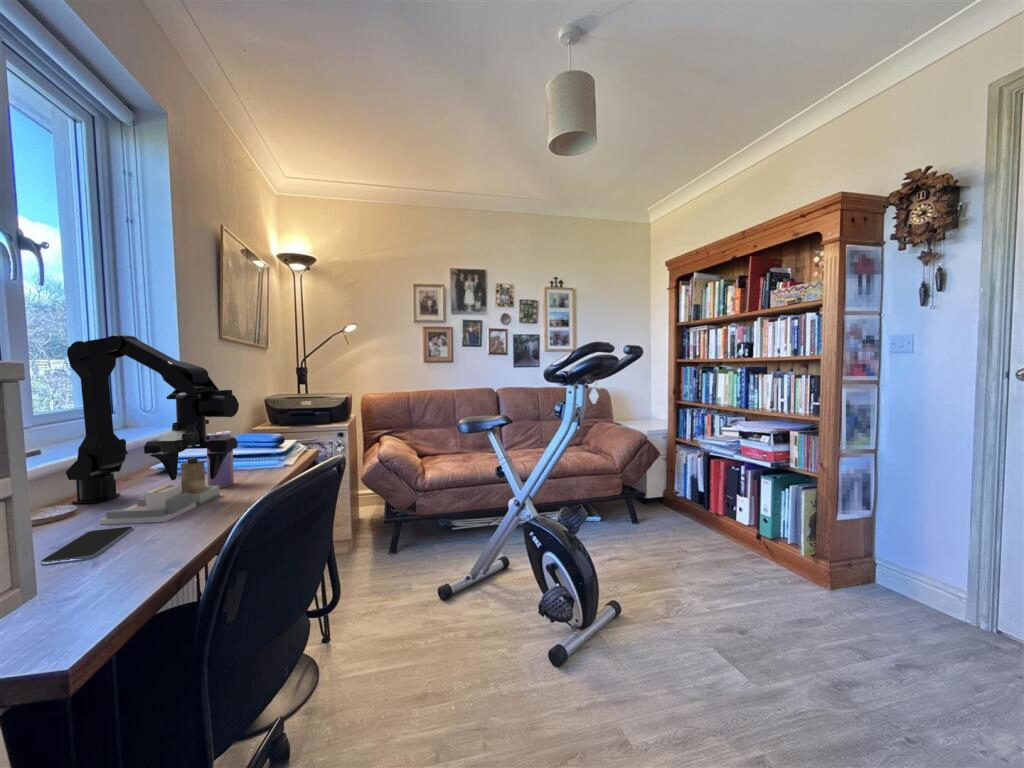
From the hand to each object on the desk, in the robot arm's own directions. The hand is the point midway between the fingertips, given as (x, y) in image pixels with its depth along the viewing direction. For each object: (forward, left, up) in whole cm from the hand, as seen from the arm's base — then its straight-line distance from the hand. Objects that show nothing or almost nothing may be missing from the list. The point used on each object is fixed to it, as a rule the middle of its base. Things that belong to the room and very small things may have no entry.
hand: (193, 479), depth 104 cm
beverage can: (-1, +13, -6) cm, 14 cm away
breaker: (0, -10, -4) cm, 11 cm away
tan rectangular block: (0, 0, -5) cm, 5 cm away
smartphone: (-2, -26, -6) cm, 27 cm away
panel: (-3, -10, -5) cm, 12 cm away
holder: (0, 0, -5) cm, 5 cm away
